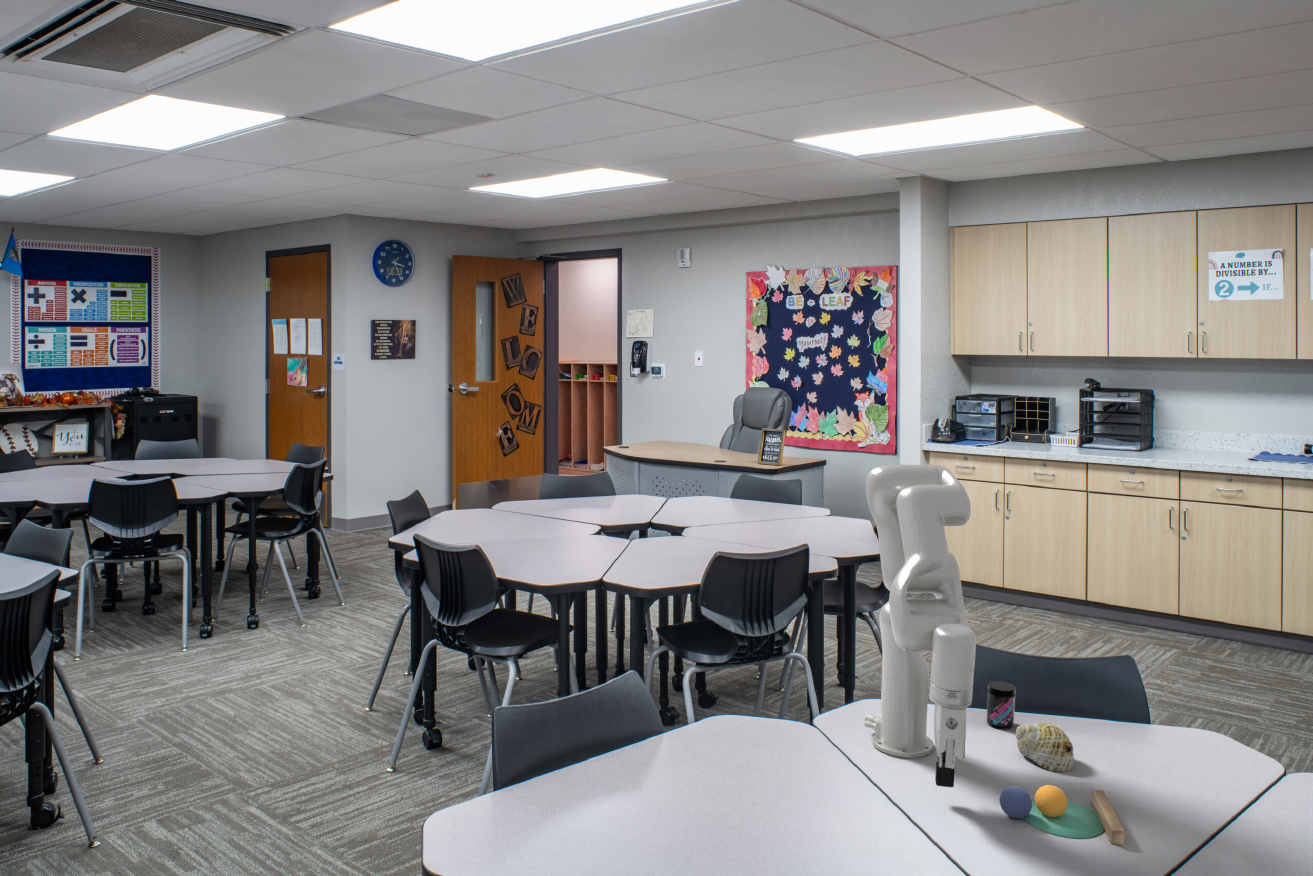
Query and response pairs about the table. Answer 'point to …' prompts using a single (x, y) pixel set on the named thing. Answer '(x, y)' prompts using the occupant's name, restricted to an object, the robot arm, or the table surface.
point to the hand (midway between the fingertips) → (944, 784)
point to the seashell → (1046, 746)
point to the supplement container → (1001, 704)
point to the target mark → (1067, 821)
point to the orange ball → (1051, 801)
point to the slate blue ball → (1015, 802)
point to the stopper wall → (1108, 817)
